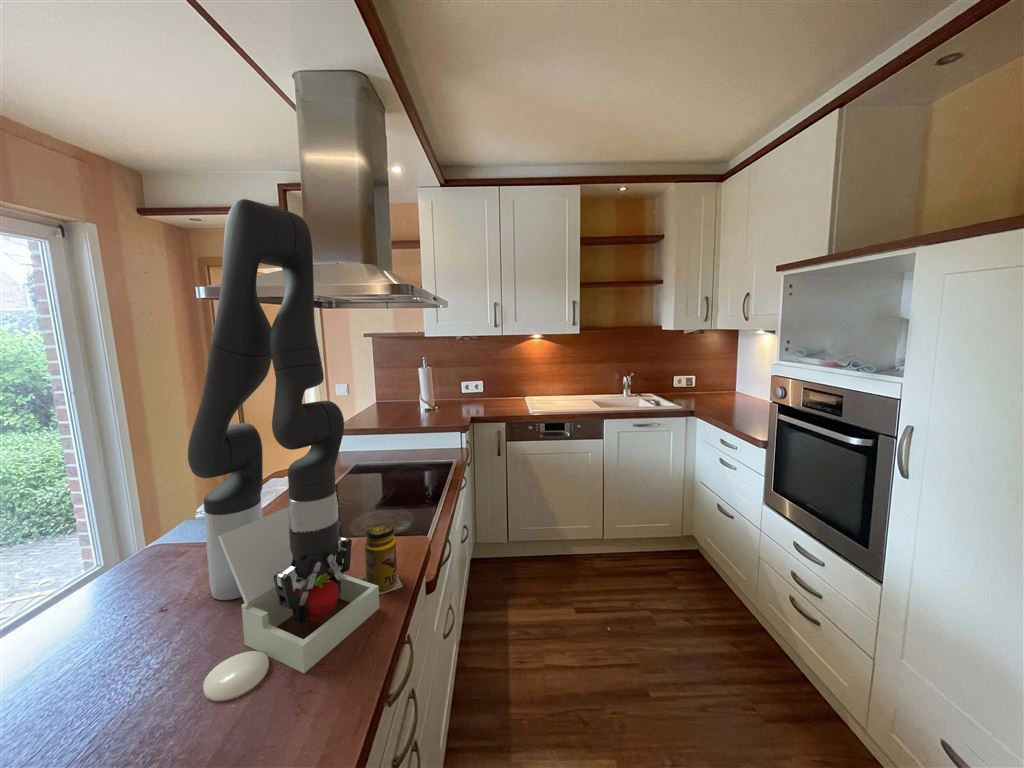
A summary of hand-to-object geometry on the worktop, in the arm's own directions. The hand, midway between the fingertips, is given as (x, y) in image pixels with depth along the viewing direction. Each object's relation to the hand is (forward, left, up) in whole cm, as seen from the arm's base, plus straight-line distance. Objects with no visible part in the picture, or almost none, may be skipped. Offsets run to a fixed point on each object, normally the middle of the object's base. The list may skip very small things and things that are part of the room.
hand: (318, 610), depth 69 cm
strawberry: (0, 0, -3) cm, 3 cm away
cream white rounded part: (-2, -13, -3) cm, 13 cm away
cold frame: (-4, 0, -3) cm, 5 cm away
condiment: (+1, +13, -3) cm, 14 cm away
